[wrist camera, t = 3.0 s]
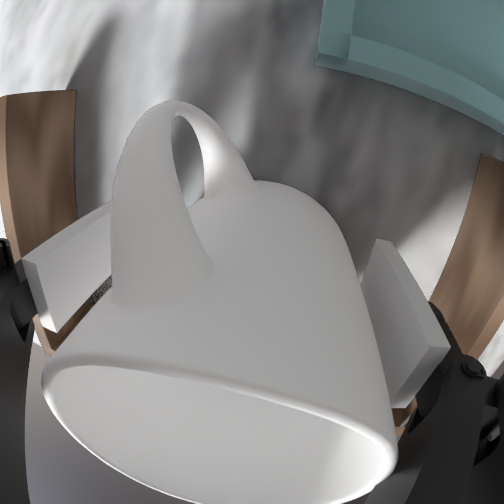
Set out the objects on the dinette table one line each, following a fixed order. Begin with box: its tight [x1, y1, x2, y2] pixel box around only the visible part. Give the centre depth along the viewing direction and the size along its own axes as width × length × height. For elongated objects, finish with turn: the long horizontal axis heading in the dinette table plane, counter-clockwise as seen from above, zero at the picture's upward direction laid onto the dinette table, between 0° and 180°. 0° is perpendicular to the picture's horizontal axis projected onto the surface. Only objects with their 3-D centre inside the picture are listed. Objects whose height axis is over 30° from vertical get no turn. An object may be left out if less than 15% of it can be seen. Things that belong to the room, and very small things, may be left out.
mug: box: [41, 101, 398, 504], centre depth 9 cm, size 9×12×11 cm
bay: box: [0, 90, 504, 435], centre depth 12 cm, size 15×23×5 cm, turn 82°
